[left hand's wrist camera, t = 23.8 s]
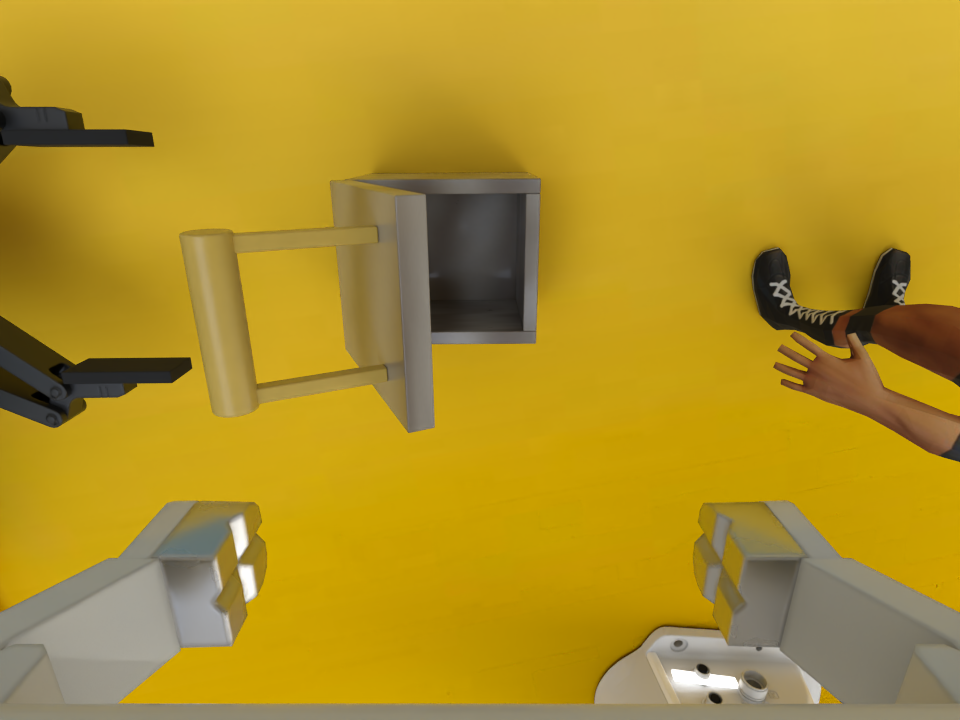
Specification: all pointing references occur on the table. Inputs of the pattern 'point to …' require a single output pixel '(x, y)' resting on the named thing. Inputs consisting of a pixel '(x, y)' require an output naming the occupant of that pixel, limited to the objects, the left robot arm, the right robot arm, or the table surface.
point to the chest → (478, 253)
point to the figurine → (855, 381)
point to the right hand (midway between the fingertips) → (163, 261)
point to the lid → (364, 297)
